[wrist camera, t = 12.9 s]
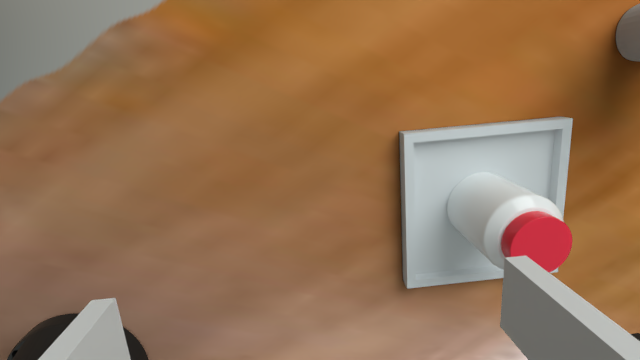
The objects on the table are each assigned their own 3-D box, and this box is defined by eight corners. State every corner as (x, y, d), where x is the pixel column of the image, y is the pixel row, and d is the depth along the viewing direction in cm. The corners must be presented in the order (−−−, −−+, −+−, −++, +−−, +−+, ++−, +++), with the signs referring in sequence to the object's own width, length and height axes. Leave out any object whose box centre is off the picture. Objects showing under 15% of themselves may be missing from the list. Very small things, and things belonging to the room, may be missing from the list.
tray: (403, 280, 45) (407, 288, 43) (399, 131, 40) (404, 133, 39) (547, 264, 46) (557, 271, 44) (561, 116, 41) (572, 118, 39)
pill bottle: (526, 198, 43) (603, 238, 32) (479, 248, 44) (538, 302, 34) (480, 157, 41) (544, 185, 31) (432, 211, 42) (478, 255, 32)
